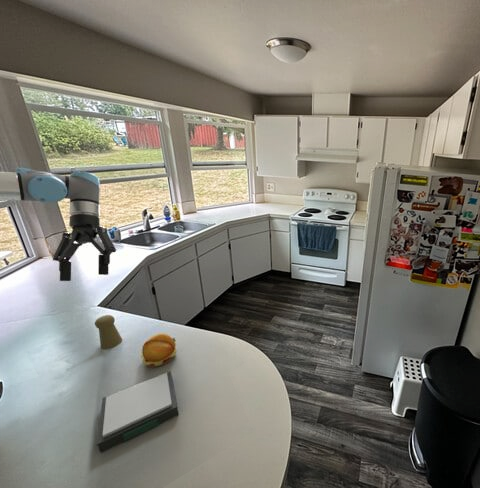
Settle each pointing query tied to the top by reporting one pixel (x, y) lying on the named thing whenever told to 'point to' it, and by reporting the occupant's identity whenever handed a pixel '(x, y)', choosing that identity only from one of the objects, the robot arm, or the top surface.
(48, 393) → the top surface
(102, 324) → the cork
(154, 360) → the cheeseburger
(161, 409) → the kitchen scale
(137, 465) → the top surface
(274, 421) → the top surface
